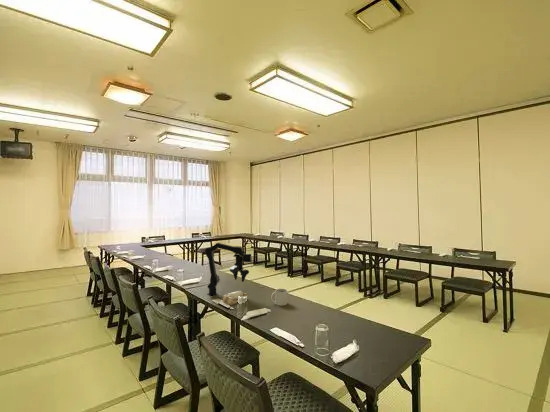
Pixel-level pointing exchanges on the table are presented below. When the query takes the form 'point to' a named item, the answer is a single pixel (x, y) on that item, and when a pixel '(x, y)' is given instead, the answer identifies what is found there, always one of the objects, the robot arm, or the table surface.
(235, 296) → the roll
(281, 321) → the table surface
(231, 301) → the holder
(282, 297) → the mug
